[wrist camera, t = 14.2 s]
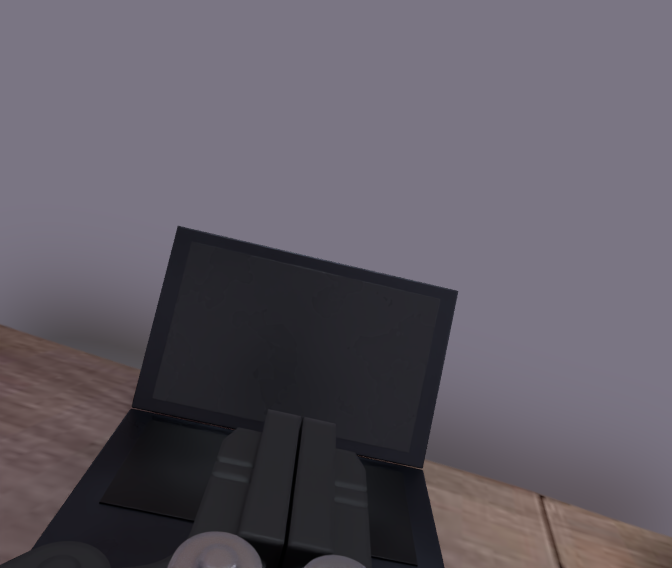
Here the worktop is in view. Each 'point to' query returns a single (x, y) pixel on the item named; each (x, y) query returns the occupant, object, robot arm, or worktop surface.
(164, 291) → the laptop screen
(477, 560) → the worktop surface
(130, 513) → the laptop
